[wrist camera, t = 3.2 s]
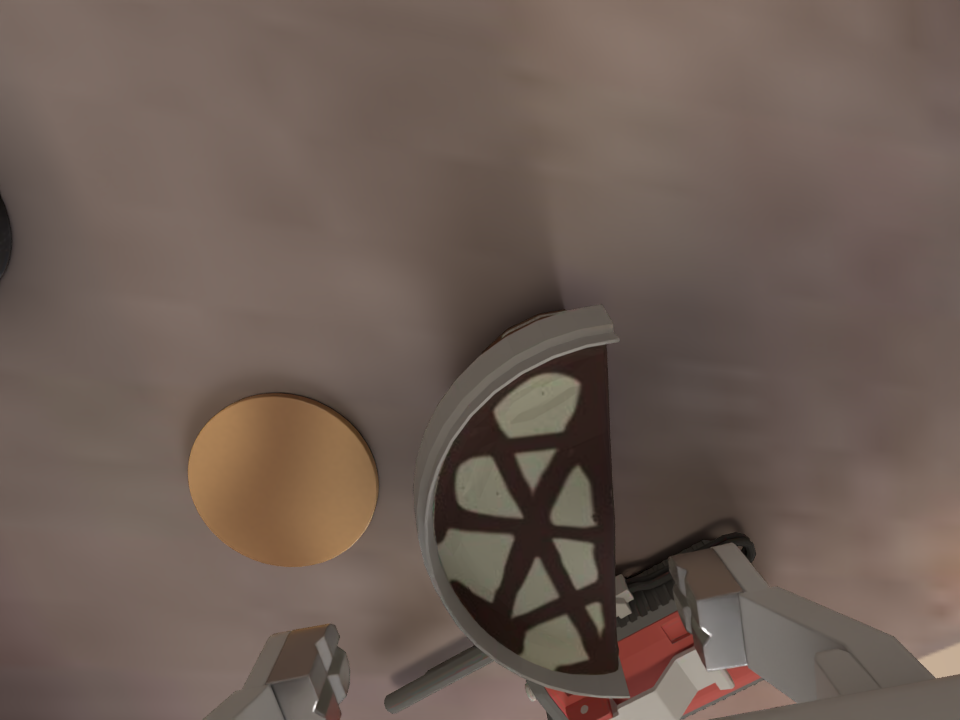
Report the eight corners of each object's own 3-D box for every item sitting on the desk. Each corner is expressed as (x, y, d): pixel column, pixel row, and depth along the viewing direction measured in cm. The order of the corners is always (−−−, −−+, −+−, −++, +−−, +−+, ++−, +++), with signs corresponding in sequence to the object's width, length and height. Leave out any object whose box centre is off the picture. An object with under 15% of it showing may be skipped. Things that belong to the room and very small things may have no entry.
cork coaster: (348, 374, 24) (345, 377, 23) (400, 542, 26) (398, 548, 26) (164, 415, 24) (158, 419, 24) (231, 575, 27) (226, 582, 26)
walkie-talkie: (713, 484, 25) (378, 670, 28) (759, 539, 21) (359, 751, 24) (792, 613, 27) (470, 773, 30) (850, 687, 23) (468, 865, 26)
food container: (421, 288, 23) (371, 340, 13) (562, 274, 22) (619, 317, 13) (452, 536, 26) (431, 724, 16) (577, 526, 26) (630, 712, 16)
